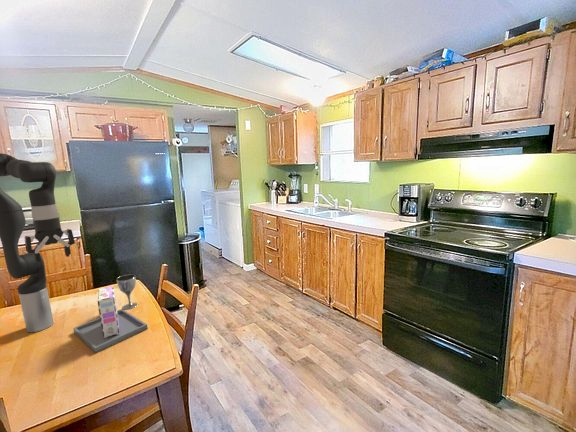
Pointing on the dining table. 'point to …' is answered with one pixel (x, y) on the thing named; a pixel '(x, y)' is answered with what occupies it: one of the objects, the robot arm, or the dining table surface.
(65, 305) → the dining table surface
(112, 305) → the candy box
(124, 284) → the wine glass
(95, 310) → the dining table surface
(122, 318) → the tray
